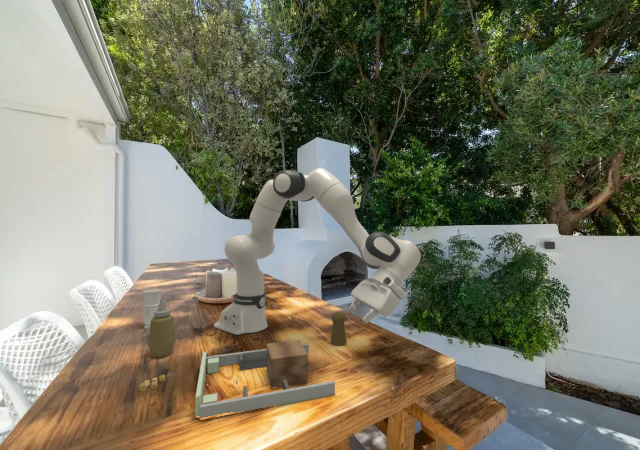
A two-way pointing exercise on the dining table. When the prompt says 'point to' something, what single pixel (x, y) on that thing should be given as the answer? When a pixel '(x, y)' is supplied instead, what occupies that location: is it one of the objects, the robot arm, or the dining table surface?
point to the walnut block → (287, 363)
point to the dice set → (153, 384)
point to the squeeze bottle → (161, 332)
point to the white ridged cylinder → (150, 305)
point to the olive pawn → (338, 329)
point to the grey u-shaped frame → (266, 399)
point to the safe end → (212, 368)
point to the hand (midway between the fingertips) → (356, 316)
